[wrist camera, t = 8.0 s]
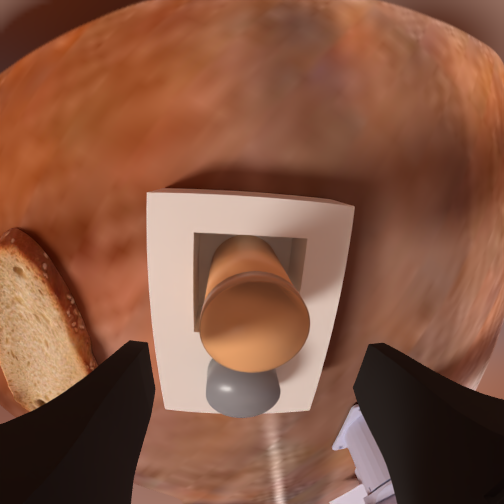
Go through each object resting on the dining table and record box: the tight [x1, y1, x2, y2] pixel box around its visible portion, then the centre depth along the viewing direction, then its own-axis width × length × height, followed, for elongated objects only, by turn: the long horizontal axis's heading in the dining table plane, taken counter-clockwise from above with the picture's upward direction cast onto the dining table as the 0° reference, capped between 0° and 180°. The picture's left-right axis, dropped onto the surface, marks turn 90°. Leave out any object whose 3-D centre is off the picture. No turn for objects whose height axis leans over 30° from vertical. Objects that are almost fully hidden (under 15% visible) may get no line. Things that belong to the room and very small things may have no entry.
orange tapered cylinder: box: [199, 235, 310, 373], centre depth 13 cm, size 4×4×7 cm
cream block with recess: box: [147, 188, 355, 418], centre depth 15 cm, size 10×14×6 cm
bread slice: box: [0, 228, 98, 412], centre depth 16 cm, size 18×18×4 cm
